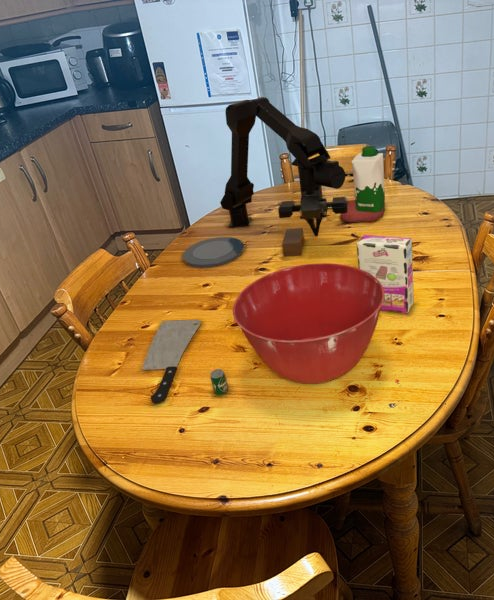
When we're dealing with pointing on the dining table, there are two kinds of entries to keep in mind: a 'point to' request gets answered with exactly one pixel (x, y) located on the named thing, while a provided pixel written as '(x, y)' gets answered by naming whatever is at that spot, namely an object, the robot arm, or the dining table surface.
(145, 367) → the cleaver
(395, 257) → the candy bar box
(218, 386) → the beer can
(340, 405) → the dining table surface
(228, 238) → the plate
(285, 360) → the mixing bowl
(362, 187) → the milk carton
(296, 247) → the block
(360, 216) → the food model
